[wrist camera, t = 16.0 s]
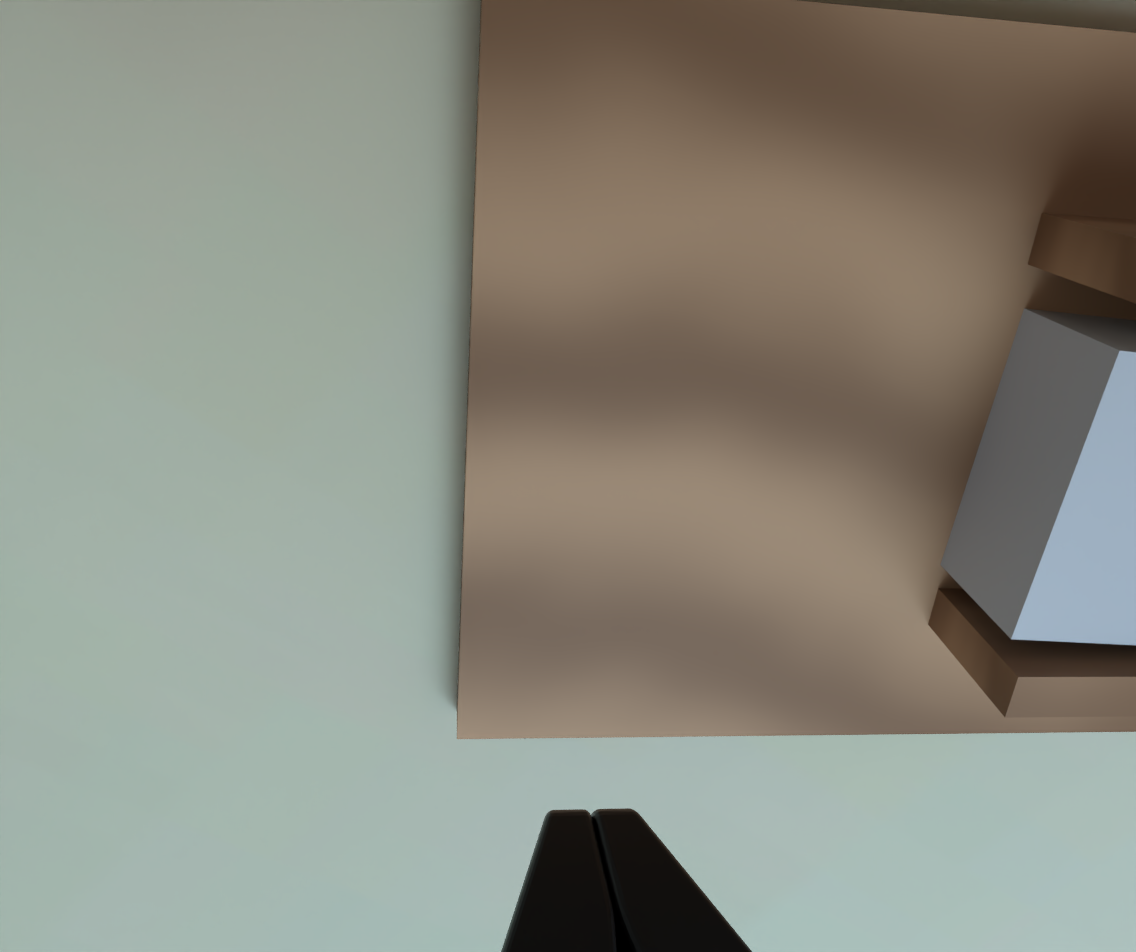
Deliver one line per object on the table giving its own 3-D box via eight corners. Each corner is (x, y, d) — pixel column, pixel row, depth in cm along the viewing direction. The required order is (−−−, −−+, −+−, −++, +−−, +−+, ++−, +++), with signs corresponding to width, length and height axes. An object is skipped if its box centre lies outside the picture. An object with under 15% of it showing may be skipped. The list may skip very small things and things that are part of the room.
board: (482, -25, 16) (490, -58, 12) (1593, 81, 19) (1945, 87, 15) (457, 712, 23) (456, 874, 18) (1290, 705, 26) (1469, 845, 21)
